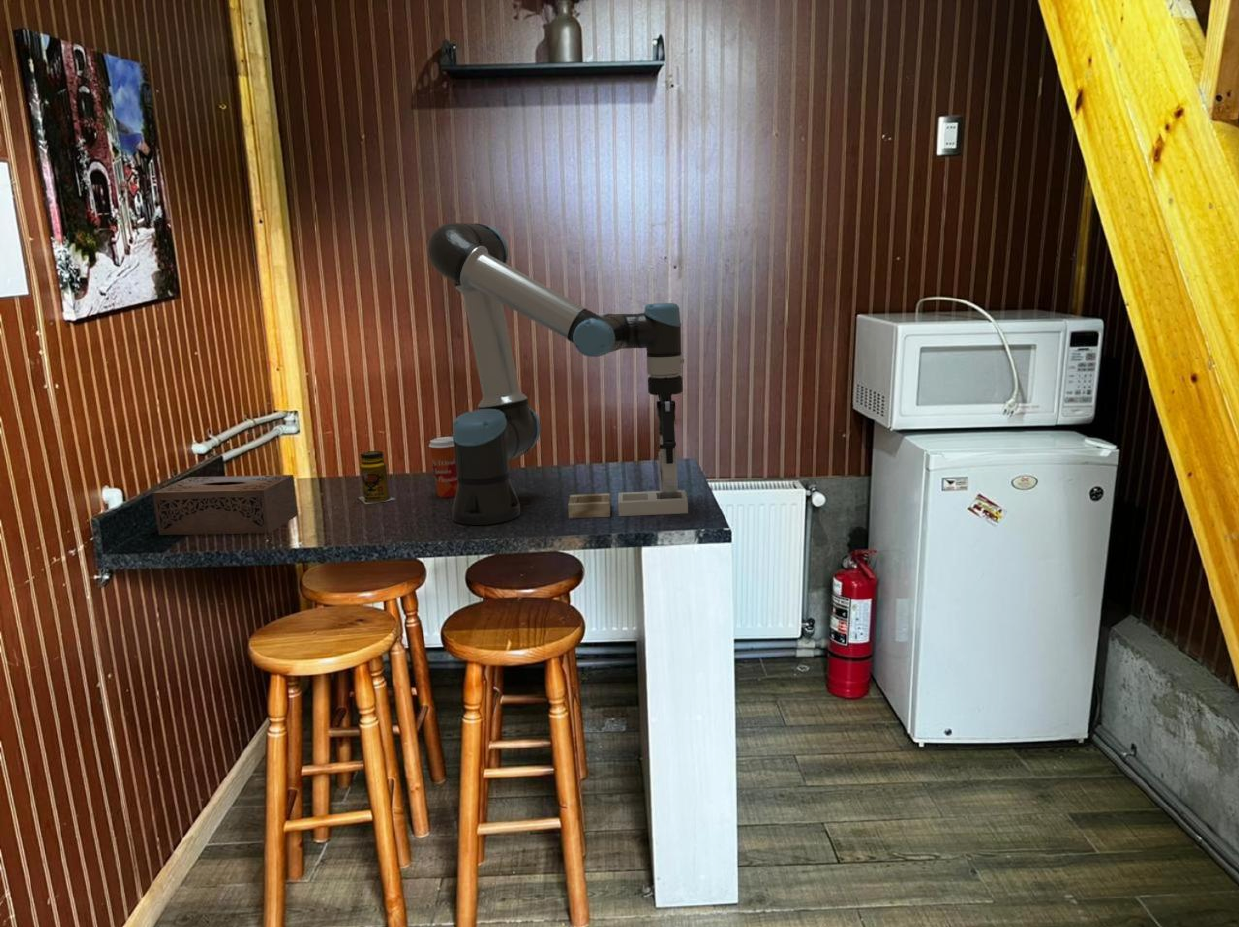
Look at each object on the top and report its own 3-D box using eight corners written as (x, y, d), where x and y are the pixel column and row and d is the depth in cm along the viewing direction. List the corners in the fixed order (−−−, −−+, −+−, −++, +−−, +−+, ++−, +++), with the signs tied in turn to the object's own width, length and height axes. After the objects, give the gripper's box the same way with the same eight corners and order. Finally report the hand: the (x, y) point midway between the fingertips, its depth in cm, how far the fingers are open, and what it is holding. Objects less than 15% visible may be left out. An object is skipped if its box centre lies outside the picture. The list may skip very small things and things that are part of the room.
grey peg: (666, 511, 200) (664, 454, 197) (657, 508, 204) (655, 451, 201) (681, 508, 202) (680, 451, 199) (672, 505, 206) (670, 449, 203)
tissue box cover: (298, 516, 213) (293, 474, 211) (269, 534, 199) (263, 490, 197) (194, 518, 215) (188, 477, 213) (159, 536, 201) (151, 492, 199)
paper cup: (428, 498, 222) (422, 442, 219) (441, 490, 230) (436, 436, 227) (457, 498, 220) (452, 442, 217) (470, 490, 228) (465, 436, 225)
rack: (618, 516, 199) (618, 503, 198) (618, 505, 207) (618, 492, 207) (688, 513, 198) (687, 499, 198) (685, 502, 207) (684, 489, 207)
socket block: (568, 518, 199) (568, 505, 198) (571, 507, 207) (570, 495, 207) (609, 516, 199) (609, 503, 198) (610, 505, 207) (609, 493, 207)
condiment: (365, 505, 219) (360, 456, 216) (358, 498, 226) (353, 451, 224) (395, 500, 222) (390, 452, 220) (387, 493, 229) (382, 447, 227)
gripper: (686, 382, 184) (689, 483, 189) (678, 368, 208) (681, 457, 213) (649, 383, 184) (653, 484, 189) (646, 369, 209) (649, 459, 213)
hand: (668, 470), depth 201 cm, fingers open, 13 cm apart
